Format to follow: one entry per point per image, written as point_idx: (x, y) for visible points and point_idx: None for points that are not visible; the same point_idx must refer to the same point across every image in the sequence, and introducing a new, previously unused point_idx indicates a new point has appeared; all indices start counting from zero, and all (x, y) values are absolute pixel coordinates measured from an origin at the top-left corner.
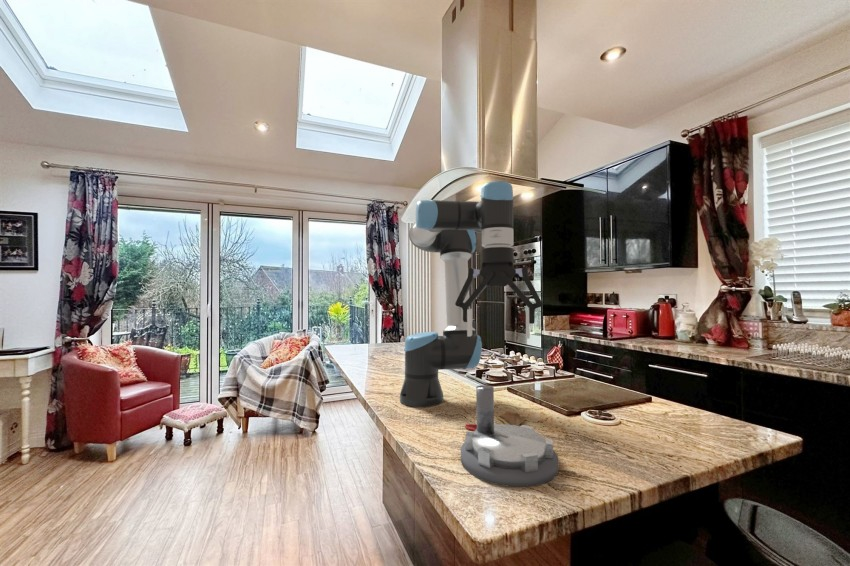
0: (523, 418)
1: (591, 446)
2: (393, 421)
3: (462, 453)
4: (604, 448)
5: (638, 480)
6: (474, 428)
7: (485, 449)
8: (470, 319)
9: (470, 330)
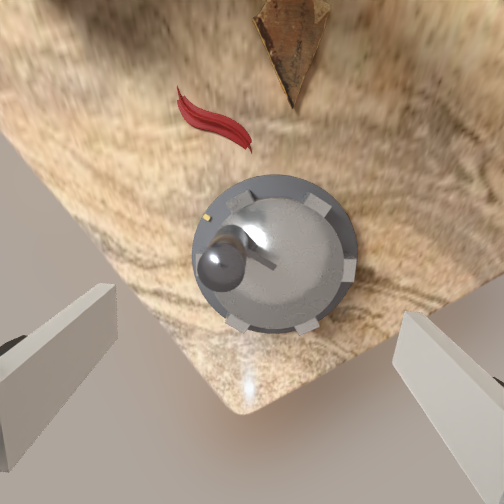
0: (321, 31)
1: (438, 162)
2: (5, 105)
3: (198, 279)
4: (461, 166)
5: (461, 277)
6: (202, 122)
7: (237, 322)
8: (64, 395)
9: (102, 353)
